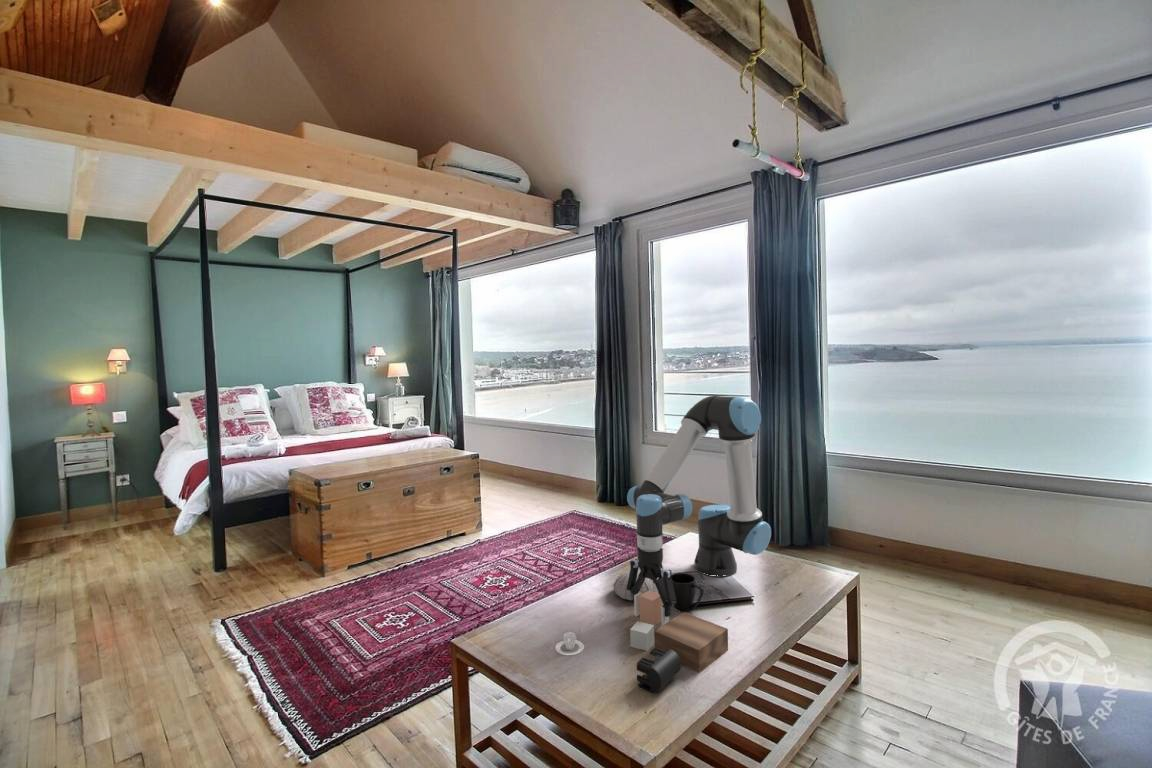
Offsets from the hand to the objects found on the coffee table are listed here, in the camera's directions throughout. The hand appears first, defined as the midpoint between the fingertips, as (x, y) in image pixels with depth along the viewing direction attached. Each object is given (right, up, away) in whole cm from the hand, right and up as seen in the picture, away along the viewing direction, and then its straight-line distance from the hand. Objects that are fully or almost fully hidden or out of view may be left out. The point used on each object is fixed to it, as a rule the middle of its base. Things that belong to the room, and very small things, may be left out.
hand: (651, 620), depth 166 cm
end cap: (-2, -3, -30) cm, 30 cm away
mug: (+12, 0, +6) cm, 14 cm away
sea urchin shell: (-3, +1, +18) cm, 18 cm away
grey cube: (-4, -1, -13) cm, 13 cm away
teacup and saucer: (-22, -2, -12) cm, 25 cm away
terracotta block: (0, 0, 0) cm, 0 cm away
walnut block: (+8, -1, -17) cm, 19 cm away
